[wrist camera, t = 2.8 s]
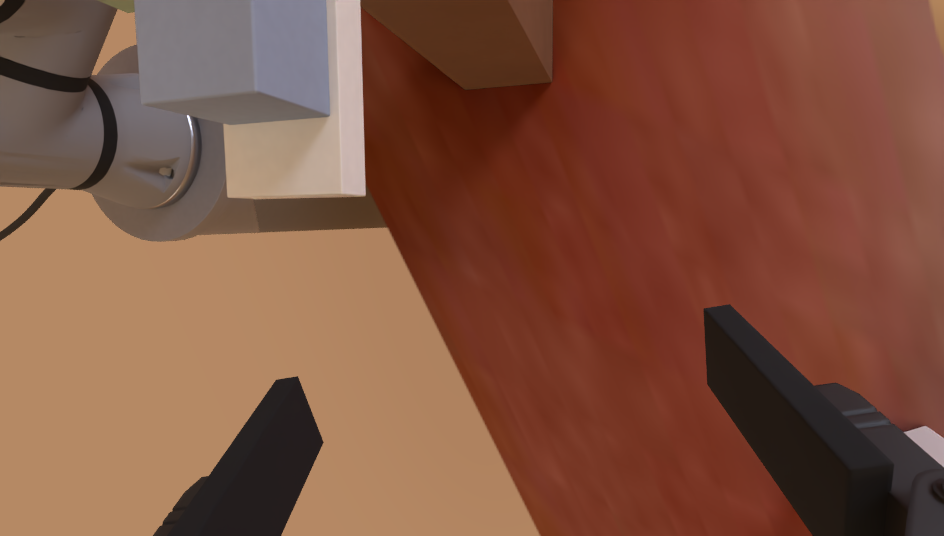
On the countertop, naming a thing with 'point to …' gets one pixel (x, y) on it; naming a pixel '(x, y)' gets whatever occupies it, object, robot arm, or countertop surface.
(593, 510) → the countertop surface
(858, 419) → the robot arm
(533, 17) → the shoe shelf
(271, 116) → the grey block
